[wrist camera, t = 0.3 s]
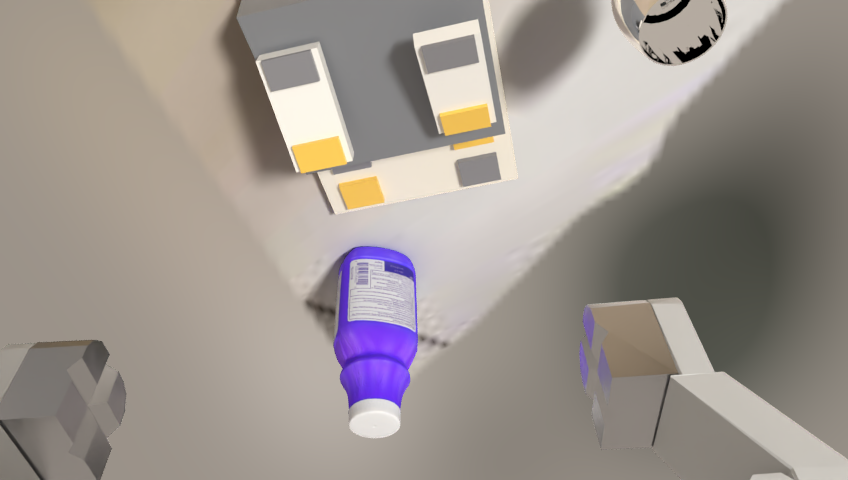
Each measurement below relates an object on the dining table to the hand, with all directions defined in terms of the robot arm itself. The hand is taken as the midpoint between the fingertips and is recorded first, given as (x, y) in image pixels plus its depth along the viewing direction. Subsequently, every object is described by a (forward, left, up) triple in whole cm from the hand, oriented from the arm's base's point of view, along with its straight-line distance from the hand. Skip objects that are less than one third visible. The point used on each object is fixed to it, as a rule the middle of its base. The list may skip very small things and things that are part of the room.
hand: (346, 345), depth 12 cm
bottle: (+38, -10, -39) cm, 55 cm away
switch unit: (+19, -3, -39) cm, 43 cm away
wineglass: (+12, +14, -39) cm, 43 cm away
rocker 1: (+16, -8, -32) cm, 37 cm away
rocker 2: (+16, +2, -32) cm, 36 cm away
